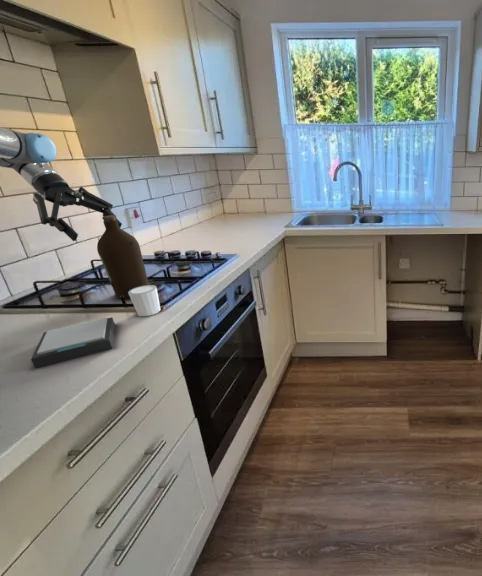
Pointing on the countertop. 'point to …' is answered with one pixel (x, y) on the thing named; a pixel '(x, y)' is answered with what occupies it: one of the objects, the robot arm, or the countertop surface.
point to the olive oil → (121, 258)
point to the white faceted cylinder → (145, 300)
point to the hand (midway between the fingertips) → (99, 232)
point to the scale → (74, 341)
